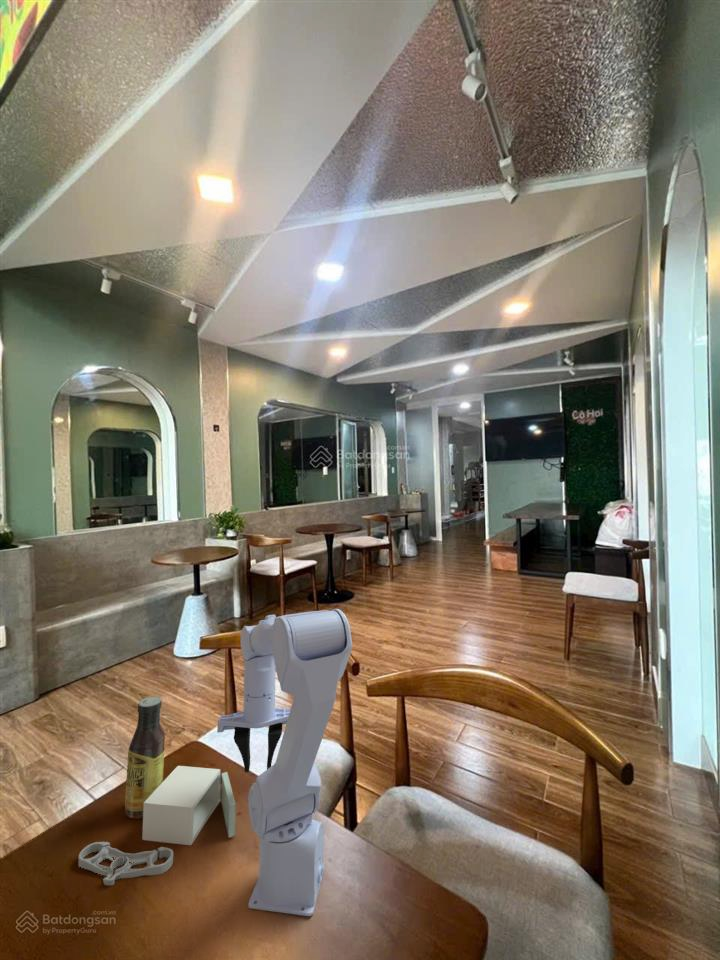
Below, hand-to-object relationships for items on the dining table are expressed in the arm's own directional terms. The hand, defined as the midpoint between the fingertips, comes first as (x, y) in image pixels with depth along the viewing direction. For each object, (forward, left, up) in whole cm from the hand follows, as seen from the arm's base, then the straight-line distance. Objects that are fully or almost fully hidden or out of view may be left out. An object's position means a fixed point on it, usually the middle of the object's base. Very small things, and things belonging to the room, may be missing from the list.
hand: (258, 767), depth 71 cm
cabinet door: (+6, 0, -9) cm, 11 cm away
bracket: (+18, +11, -10) cm, 23 cm away
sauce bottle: (+23, 0, -10) cm, 25 cm away
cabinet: (+14, +1, -9) cm, 17 cm away
